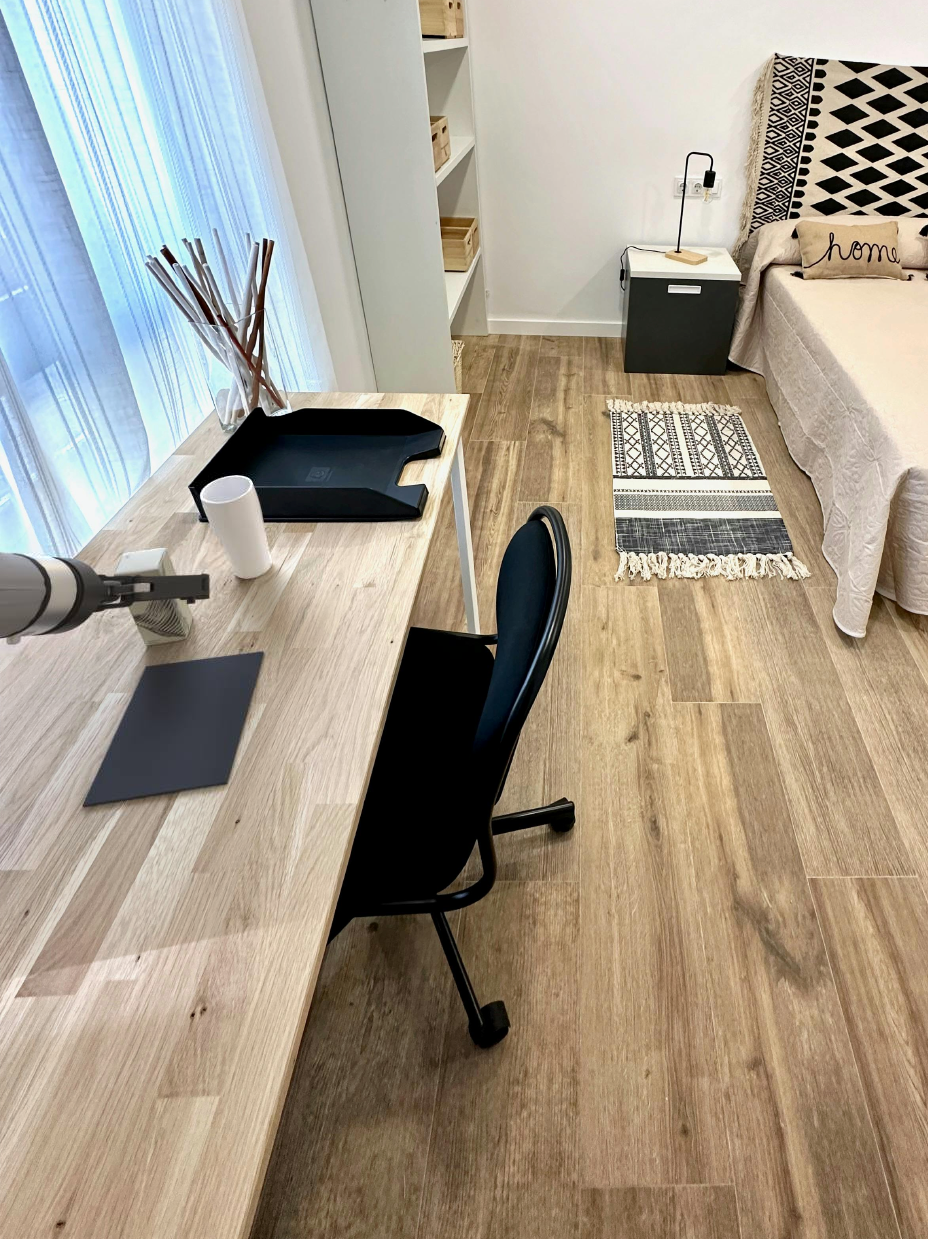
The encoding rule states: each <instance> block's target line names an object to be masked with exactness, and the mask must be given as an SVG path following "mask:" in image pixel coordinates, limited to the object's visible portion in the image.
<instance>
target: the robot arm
mask: <svg viewBox="0 0 928 1239" xmlns="http://www.w3.org/2000/svg"><path fill="white" fill-rule="evenodd" d="M210 578H211V577H210V574H209V573H201V574H180V575H179V574H176V575H174V576H141V575H135V576H130V575H127V576H114V575H112V576H111V575H110V576H108V575H106V574H97V572H96V571H95V570H94V568H93V567H91V566H90V565H88V564H87V563H86V562H84V561H81V560H79V559H77V558H76V559H75V558H70V557H58V556H49V555H40V554H29V553H19V552H18V553H17V552H11V553H10V552H0V639H6V644H7V645H9V646H12V645H13V646H14V645H17V644H20V643H21V640H22V639H21V638H22V637H31V636H32V637H34V636H35V637H37V636H49V635H57V634H64V633H67V632H70V631H72V630H74V629H76V628H78V627H80V626H81V625H83V624H84V623H85V622H87V620H88V619H90V617H91V616H92V615H93V613H95V614H96V613H101V612H104V611H106V610H112V609H113V610H115V609H123V608H128V607H129V606H131V605H132V604H133V603H134V602H143V601H155V600H167V599H180V600H187V604H188V605H194V604H196V600H198V601H199V600H201V601H202V600H210V595H211V594H210V589H211V586H210V584H211V582H210ZM117 581H118V582H117ZM119 582H120V583H121V586H120V583H119ZM118 600H119V601H118ZM117 601H118V602H117Z"/></svg>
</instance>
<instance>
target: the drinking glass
mask: <svg viewBox="0 0 928 1239" xmlns="http://www.w3.org/2000/svg"><path fill="white" fill-rule="evenodd" d="M255 488H256V487H255V486H254V483H253V481H252V480H251V479H250V478H249V477H247V476H243V475H229V476H228V475H227V476H224V477H220V478H217V479H215V480H213V481H211V482H210V483H208V484H207V485H205V486H204V487H203V488H202V489H201V492H200V494H199V497H200V500H201V505H202V508H203V511H204V513H205V516H206V518H207V520H208V523H209V525H210V528H212V530H213V532H214V535H215V536H216V538H217V541H218V542H219V544H220V546H221V548H222V550H223V552H224V554H225V555H226V556H225V557H226V558H227V559H228V561H229V564H230V566H231V569H232V570H233V573H234V575H235V576H236V577H237V578H239V579H244V580H251V579H256V578H258V577H260V576H263V575H264V574H266V573H267V572H268V571H269V570H270V568H271V567H272V565H273V557H272V554H271V551H270V547H269V542H268V537H267V533H266V527H265V523H264V518H263V517H264V516H263V511H262V507H261V503H260V499H259V496H258V494H257V490H256V489H255Z"/></svg>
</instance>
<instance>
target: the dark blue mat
mask: <svg viewBox="0 0 928 1239" xmlns="http://www.w3.org/2000/svg"><path fill="white" fill-rule="evenodd" d="M264 655H265V652H264V650H262V651H261V650H260V651H253V652H246V653H238V654H237V653H236V654H231V655H223V656H215V657H208V658H207V657H206V658H200V659H192V660H183V661H177V662H176V661H175V662H169V663H168V662H167V663H161V664H153V665H146V666H145V668H144V670H143V672H142V675H141V676H140V679H139V681H138V683H137V685H136V687H135V689H134V692H133V694H132V696H131V699H130V700H129V702H128V705H127V707H126V709H125V712H124V713H123V716H122V718H121V720H120V723H119V725H118V726H117V729H116V731H115V733H114V736H113V738H112V739H111V742H110V744H109V746H108V749H107V751H106V754H105V755H104V757H103V759H102V762H101V763H100V766H99V768H98V770H97V772H96V775H95V776H94V779H93V781H92V783H91V786H90V788H89V790H88V792H87V795H86V797H85V799H84V801H83V803H82V807H83V808H87V807H94V806H100V805H101V806H102V805H106V804H113V803H118V802H125V801H132V800H137V799H143V798H151V797H155V796H161V795H162V796H163V795H168V794H175V793H180V792H186V791H187V792H188V791H193V790H200V789H205V788H212V787H218V786H225V785H228V783H229V780H230V776H231V773H232V769H233V765H234V761H235V758H236V754H237V751H238V747H239V744H240V740H241V736H242V733H243V729H244V726H245V723H246V719H247V715H248V711H249V708H250V704H251V701H252V698H253V694H254V690H255V687H256V684H257V680H258V676H259V673H260V669H261V665H262V661H263V659H264Z"/></svg>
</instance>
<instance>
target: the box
mask: <svg viewBox="0 0 928 1239" xmlns="http://www.w3.org/2000/svg"><path fill="white" fill-rule="evenodd" d="M127 575H130V576H135V575H141V576H174V575H177V572H176V570H175V568H174V565H173V562H172V559H171V557H170V554H169V550H168V548H167V547H157V548H150V549H142V550H137V551H130V552H123V553H122V555H121V556H120V559H119V560H118V562H117V564H116V567H115V570H114V571H113V576H127ZM117 582H118V581H117ZM119 583H120V582H119ZM120 586H121V583H120ZM127 608H128V610H129V612H130V615H131V616H132V618H133V621H134V623H135V625H136V627H137V629H138V632H139V633H140V636H141V639H142V641H143V643H144V645H145V646H151V645H154V646H155V645H160V644H166V643H167V644H168V643H172V642H177V641H183V640H186V639H187V638H188V636H189V633H190V631H191V630H190V629H191V627H192V623H193V618H194V616H193V613H192V611H191V609H190V604H187V600H180V599H167V600H155V601H143V602H134V603H133V604H132V605H131V606H129V607H127Z"/></svg>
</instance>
